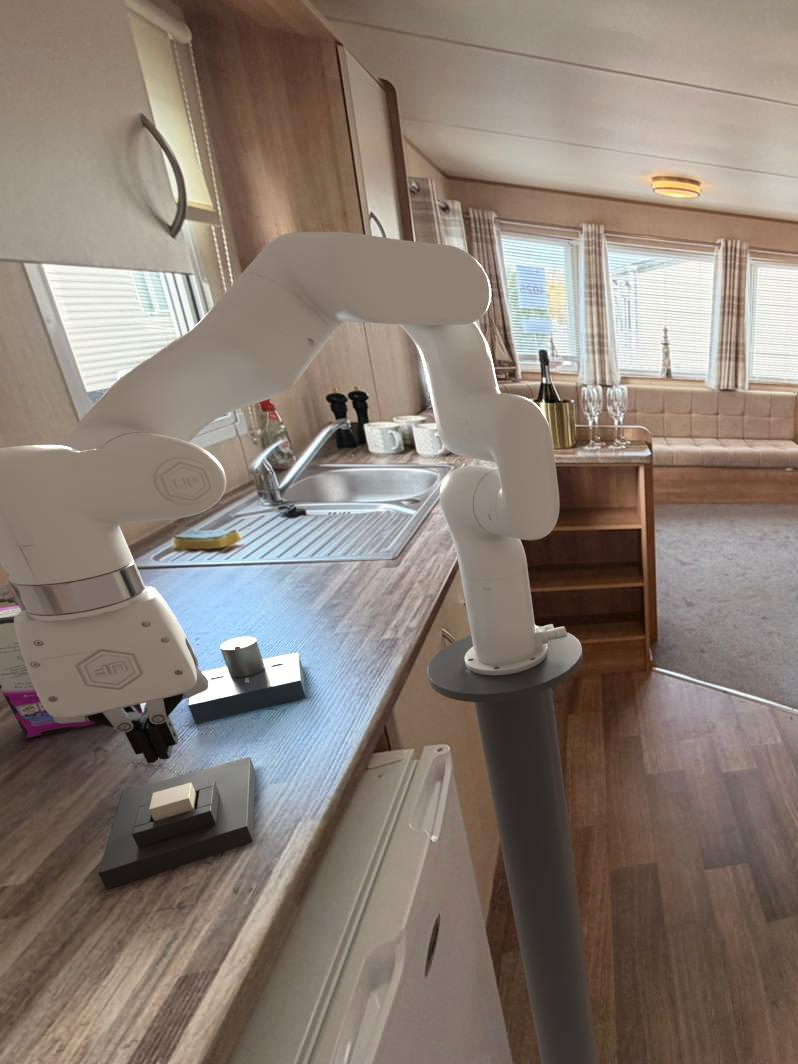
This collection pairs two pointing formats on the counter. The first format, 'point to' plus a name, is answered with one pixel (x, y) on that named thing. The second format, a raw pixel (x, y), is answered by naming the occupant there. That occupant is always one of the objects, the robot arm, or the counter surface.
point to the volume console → (249, 689)
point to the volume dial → (242, 656)
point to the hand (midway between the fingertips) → (161, 753)
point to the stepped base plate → (180, 824)
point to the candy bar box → (26, 684)
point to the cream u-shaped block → (172, 801)
